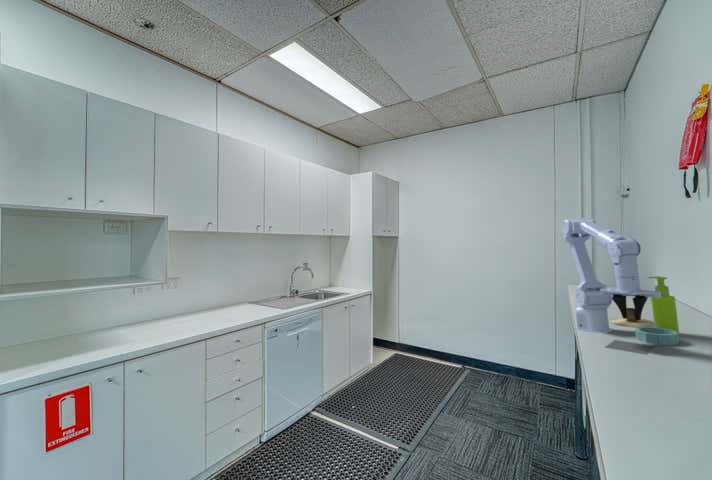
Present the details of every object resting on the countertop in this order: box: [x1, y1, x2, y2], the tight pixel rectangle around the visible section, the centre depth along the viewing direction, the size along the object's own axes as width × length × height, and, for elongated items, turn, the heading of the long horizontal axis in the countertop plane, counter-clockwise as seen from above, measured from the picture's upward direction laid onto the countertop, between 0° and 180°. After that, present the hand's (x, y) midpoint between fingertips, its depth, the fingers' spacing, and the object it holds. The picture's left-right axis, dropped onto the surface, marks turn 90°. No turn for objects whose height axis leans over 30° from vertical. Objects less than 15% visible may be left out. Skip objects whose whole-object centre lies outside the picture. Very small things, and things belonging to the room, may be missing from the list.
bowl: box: [634, 326, 680, 346], centre depth 99 cm, size 10×10×4 cm
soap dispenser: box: [648, 275, 680, 337], centre depth 107 cm, size 6×7×20 cm
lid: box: [610, 307, 655, 329], centre depth 97 cm, size 10×10×5 cm
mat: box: [604, 339, 656, 355], centre depth 96 cm, size 10×10×1 cm
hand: (631, 318), depth 97 cm, fingers closed on lid, 3 cm apart
